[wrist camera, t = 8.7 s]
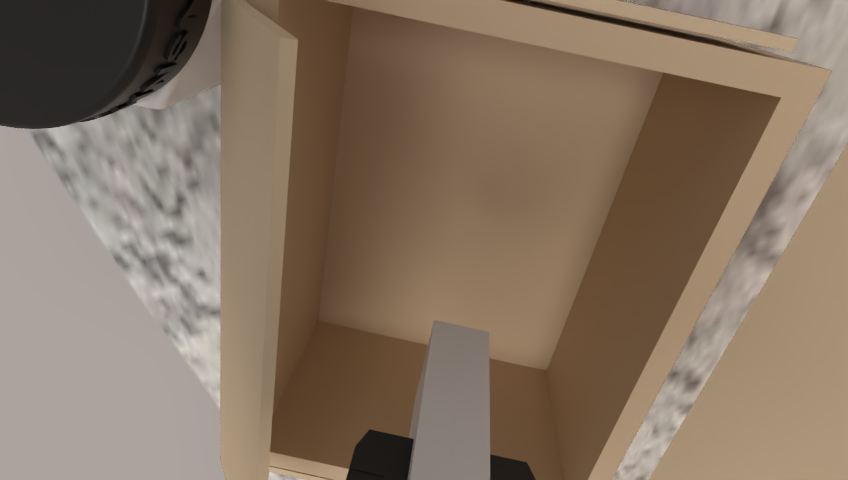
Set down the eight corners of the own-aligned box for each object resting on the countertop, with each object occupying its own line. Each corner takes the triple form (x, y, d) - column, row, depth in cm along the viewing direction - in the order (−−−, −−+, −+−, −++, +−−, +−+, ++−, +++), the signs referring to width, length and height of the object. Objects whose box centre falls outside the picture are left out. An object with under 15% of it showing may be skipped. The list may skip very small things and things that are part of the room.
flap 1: (234, -7, 12) (221, -8, 12) (297, 39, 9) (279, 37, 8) (228, 456, 20) (220, 458, 20) (260, 583, 16) (251, 587, 16)
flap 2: (1188, 228, 9) (1188, 226, 9) (857, 127, 12) (861, 127, 12) (737, 684, 16) (742, 678, 16) (610, 544, 19) (615, 540, 20)
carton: (343, -59, 20) (248, -78, 12) (701, 17, 20) (843, 48, 12) (304, 330, 29) (236, 466, 21) (552, 384, 29) (578, 541, 21)
